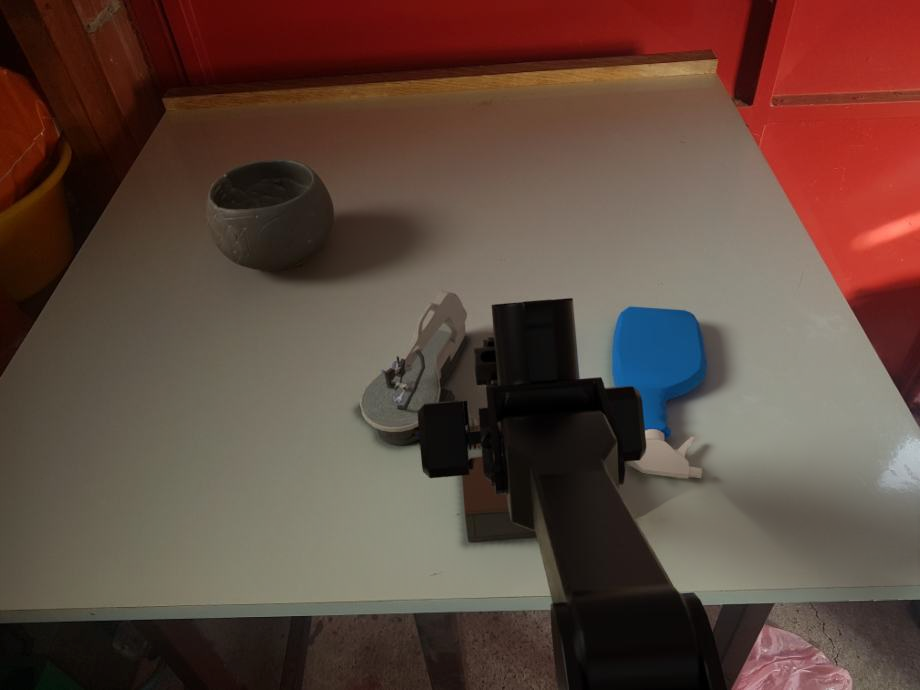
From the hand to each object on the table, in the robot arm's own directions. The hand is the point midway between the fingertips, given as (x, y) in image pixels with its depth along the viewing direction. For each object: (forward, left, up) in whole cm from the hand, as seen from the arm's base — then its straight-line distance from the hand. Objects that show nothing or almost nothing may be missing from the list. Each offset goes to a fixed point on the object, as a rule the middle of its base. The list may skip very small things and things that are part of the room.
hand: (522, 422), depth 67 cm
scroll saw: (+16, +7, -9) cm, 20 cm away
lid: (-2, 0, -4) cm, 5 cm away
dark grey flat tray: (-2, 0, -9) cm, 10 cm away
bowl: (+50, +22, -9) cm, 56 cm away
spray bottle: (+7, -19, -9) cm, 22 cm away
